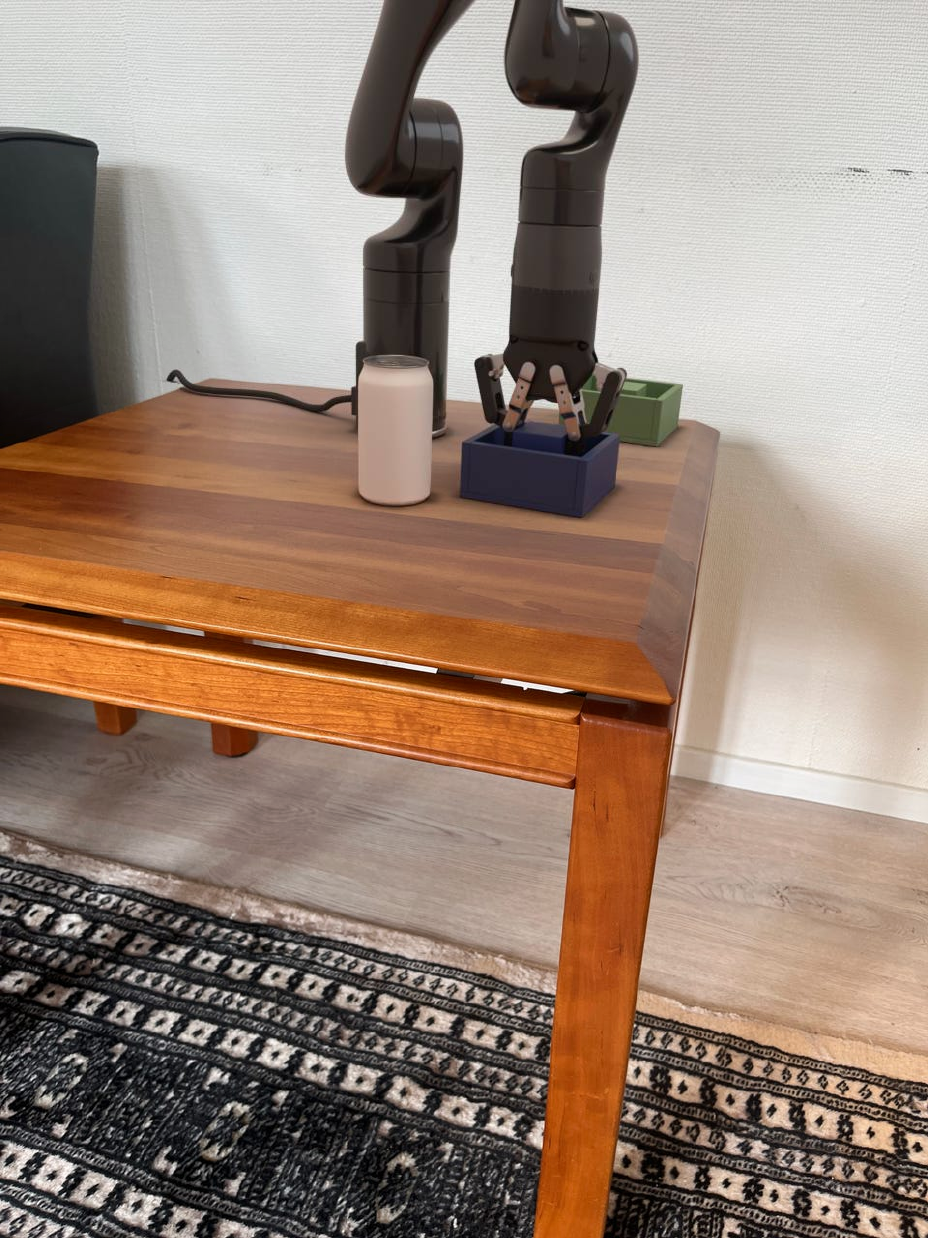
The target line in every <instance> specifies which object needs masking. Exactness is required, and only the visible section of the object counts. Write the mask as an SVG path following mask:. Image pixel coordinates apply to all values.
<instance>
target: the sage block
mask: <svg viewBox="0 0 928 1238" xmlns="http://www.w3.org/2000/svg"><path fill="white" fill-rule="evenodd" d="M646 386H647V384H641V383H633V382H625V383H624V385H623V388H622V391H621V393H620V394H624V395H632V396H641V397H645V395H646ZM597 391H599V390H598V389H597Z"/></svg>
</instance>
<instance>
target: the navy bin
mask: <svg viewBox="0 0 928 1238" xmlns="http://www.w3.org/2000/svg"><path fill="white" fill-rule="evenodd" d="M528 422H529V421H526V420H525V422H524V424H523V425H525V424H526V423H528ZM619 450H620V434H614V433H607V432H603V433H601V434H600V435H599V436H597V437H590V438H587V439H586V444H585V455H584V456H582V457H576V456H570V455H563V454H556V453H549V452H542V451H536V450H529V449H522V448H515V447H509V446H504V431H503V429H502V428H501V427H500V426H498V425H496V424H494V423H493V424H492V425H491V426H488V427H487V428H485V429H484V430H481V431H479V432H478V433H475V434H474V435H472V436H471V437H468V438H467V439H465V440H463V441H462V442H461V453H460V454H461V455H460V457H461V458H460V483H459V498H463V499H467V500H468V499H469V500H476V501H481V502H487V503H493V504H499V505H505V506H512V507H516V508H521V509H522V508H523V509H528V510H534V511H540V512H546V513H552V514H557V515H563V516H569V517H575V518H584V516H586V515H587V514H588V513H589V512H590V511H591V510H592V509H593V508H594V507H595V506H596V505H597V504H598V503H600V501H602V500H603V498H605V497H606V495H608V494H609V493H610V492H611V491H612V490H613V489H614V488H615V486H616V478H617V469H618V460H619Z"/></svg>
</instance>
